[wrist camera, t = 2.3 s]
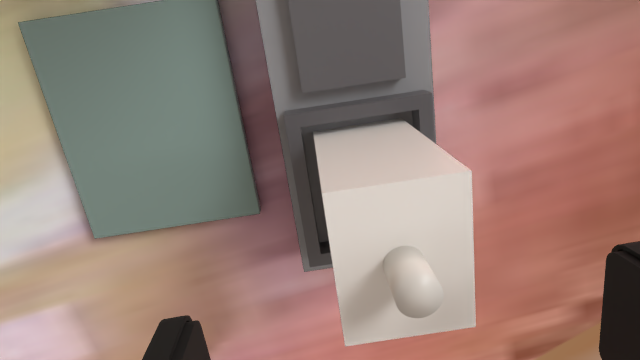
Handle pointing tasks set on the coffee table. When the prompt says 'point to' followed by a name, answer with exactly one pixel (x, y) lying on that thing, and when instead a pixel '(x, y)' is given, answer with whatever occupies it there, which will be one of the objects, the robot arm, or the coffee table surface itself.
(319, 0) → the power strip
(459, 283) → the block
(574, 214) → the coffee table surface
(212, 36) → the mat
